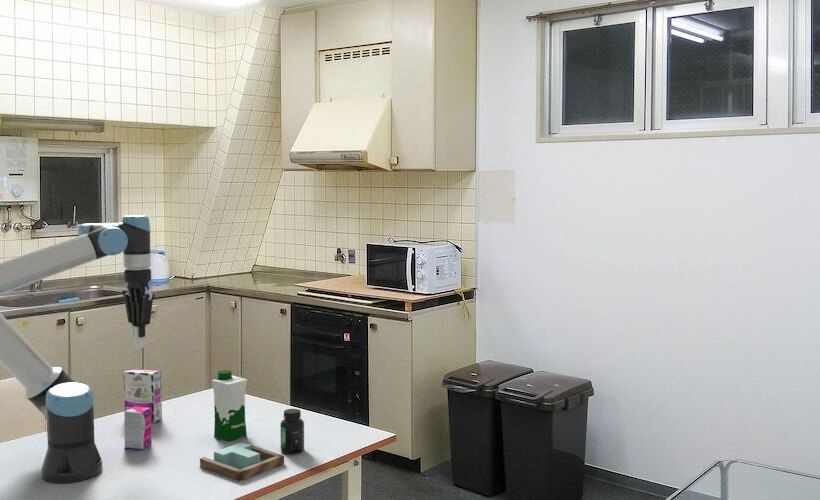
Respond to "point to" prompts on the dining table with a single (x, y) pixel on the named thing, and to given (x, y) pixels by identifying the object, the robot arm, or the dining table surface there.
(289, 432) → the supplement bottle
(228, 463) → the tee
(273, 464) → the wooden u-shaped frame
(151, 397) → the candy bar box
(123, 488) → the dining table surface
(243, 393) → the milk carton
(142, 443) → the supplement box
